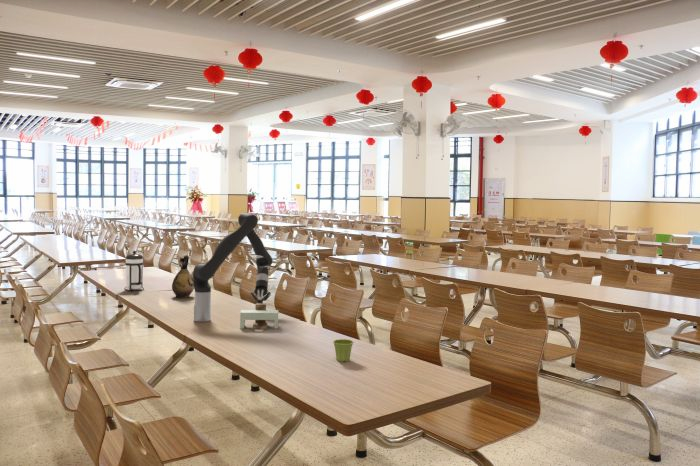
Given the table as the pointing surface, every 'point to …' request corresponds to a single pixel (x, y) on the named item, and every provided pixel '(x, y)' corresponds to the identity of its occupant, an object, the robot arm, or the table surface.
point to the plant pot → (343, 349)
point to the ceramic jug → (183, 280)
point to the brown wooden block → (260, 323)
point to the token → (258, 330)
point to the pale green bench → (258, 316)
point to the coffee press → (134, 271)
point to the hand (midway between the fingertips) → (259, 306)
